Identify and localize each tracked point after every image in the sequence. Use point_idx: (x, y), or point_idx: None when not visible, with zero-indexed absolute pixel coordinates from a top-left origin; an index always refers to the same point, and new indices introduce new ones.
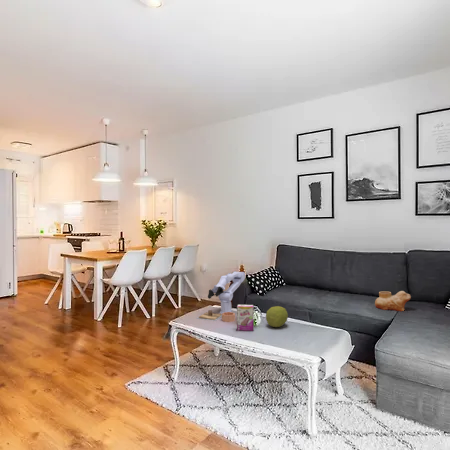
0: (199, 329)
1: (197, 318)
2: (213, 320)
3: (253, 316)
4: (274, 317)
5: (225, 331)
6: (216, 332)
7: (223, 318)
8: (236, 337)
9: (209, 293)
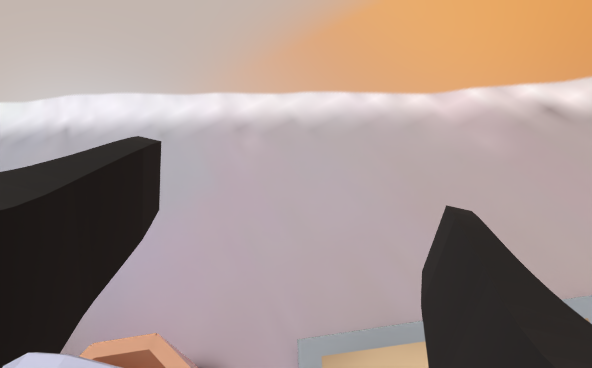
0: (327, 98)
1: (588, 305)
2: (329, 336)
3: None
4: None
5: None
6: (180, 122)
7: (187, 358)
8: (41, 128)
9: (485, 267)
